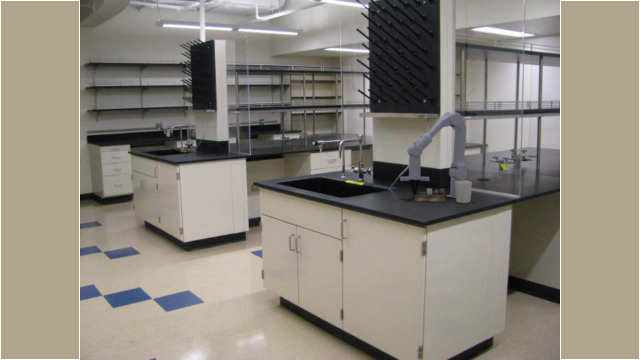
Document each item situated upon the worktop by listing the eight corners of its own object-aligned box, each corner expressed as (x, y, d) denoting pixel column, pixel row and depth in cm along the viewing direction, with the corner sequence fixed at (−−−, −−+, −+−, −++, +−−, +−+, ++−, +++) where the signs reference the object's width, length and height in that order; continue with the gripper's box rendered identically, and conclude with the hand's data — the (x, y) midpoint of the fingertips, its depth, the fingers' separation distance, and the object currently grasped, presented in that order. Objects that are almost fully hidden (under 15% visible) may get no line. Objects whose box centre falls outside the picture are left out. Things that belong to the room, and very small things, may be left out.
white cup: (473, 201, 255) (473, 181, 254) (469, 203, 248) (469, 183, 247) (457, 199, 259) (457, 180, 258) (453, 202, 252) (453, 182, 251)
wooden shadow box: (414, 201, 258) (414, 191, 257) (414, 197, 267) (414, 188, 266) (445, 201, 255) (445, 191, 255) (444, 198, 264) (444, 188, 263)
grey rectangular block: (427, 196, 258) (427, 190, 258) (426, 194, 264) (427, 188, 264) (432, 196, 258) (432, 190, 257) (431, 194, 264) (431, 188, 263)
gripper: (400, 169, 258) (400, 195, 260) (429, 169, 255) (429, 196, 257) (400, 167, 264) (400, 193, 266) (429, 167, 262) (428, 193, 264)
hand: (414, 194), depth 262 cm, fingers closed
